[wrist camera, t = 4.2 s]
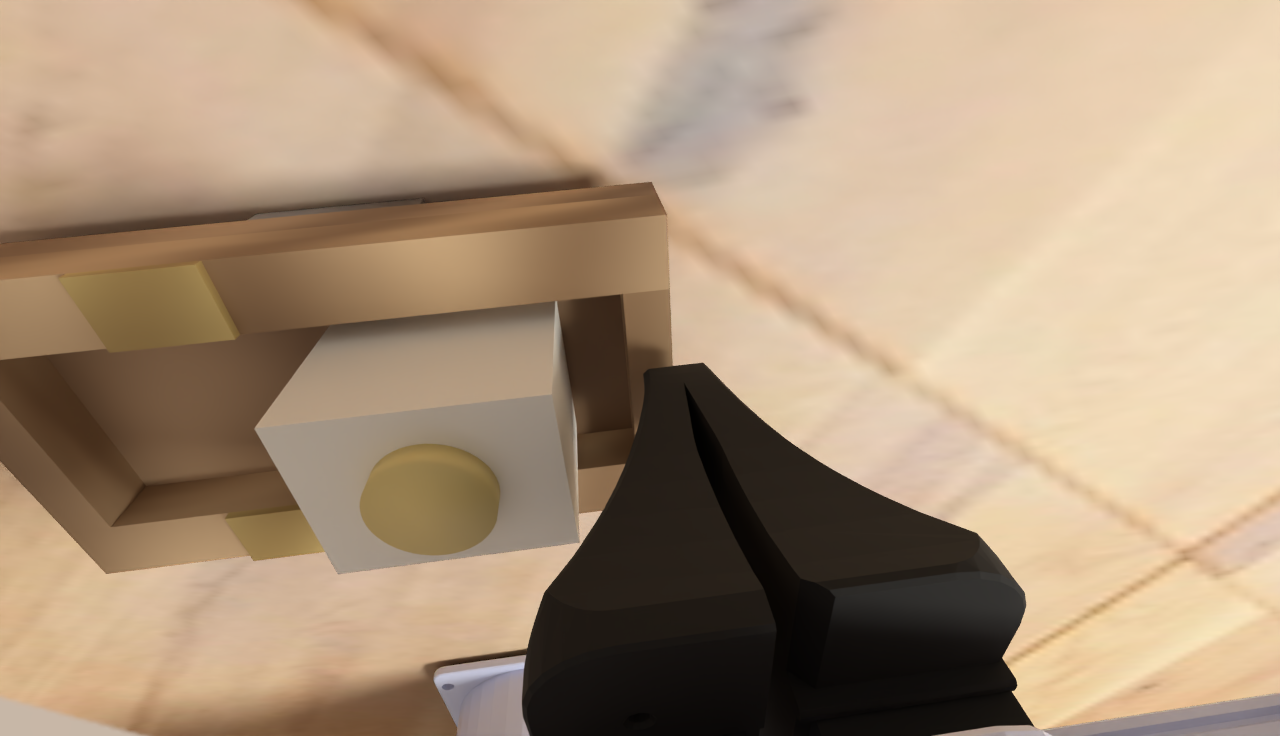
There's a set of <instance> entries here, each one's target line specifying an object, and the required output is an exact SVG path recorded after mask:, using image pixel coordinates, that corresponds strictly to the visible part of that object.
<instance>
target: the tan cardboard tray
mask: <svg viewBox="0 0 1280 736" xmlns="http://www.w3.org/2000/svg"><path fill="white" fill-rule="evenodd" d="M552 301H557V306H558V312H559V318H560V324H561V331H562V337H563V343H564V349H565V355H566V362H567V368H568V374H569V380H570V386H571V393H572V399H573V405H574V411H575V417H576V423H577V461H578V503H579V513H587V512H595V511H603V510H604V508H605V506H606V504H607V502H608V500H609V498H610V496H611V494H612V492H613V490H614V489H615V487H616V484H617V482H618V480H619V478H620V476H621V473H622V471H623V469H624V466H625V464H626V461H627V459H628V456H629V453H630V450H631V447H632V444H633V441H634V438H635V435H636V432H637V428H638V424H639V420H640V416H641V411H642V407H643V400H644V377H643V374H644V373H645V372H646V371H647V370H648V369H652V368H661V367H670V366H673V365H672V338H671V310H670V283H669V256H668V229H667V214H666V212H665V210H664V207H663V205H662V203H661V201H660V199H659V197H658V195H657V193H656V191H655V188H654V186H653V184H652V182H646V183H636V184H625V185H615V186H604V187H594V188H583V189H572V190H562V191H551V192H541V193H530V194H520V195H509V196H499V197H488V198H477V199H467V200H456V201H446V202H435V203H425V200H424V198H421V199H411V200H400V201H390V202H379V203H368V204H358V205H347V206H336V207H326V208H315V209H305V210H294V211H283V212H273V213H262V214H255V215H254V216H253V217H251V218H250V219H248V220H245V221H234V222H224V223H213V224H203V225H192V226H182V227H171V228H161V229H150V230H139V231H129V232H118V233H108V234H97V235H87V236H76V237H65V238H55V239H44V240H34V241H23V242H13V243H2V244H0V461H1V462H2V463H3V464H4V465H5V467H6V468H7V469H8V470H9V471H10V472H11V473H12V474H13V475H14V476H15V477H16V478H17V479H18V480H19V481H20V482H21V484H22V485H23V486H24V487H25V488H26V489H27V490H28V491H29V492H30V493H31V494H32V495H33V496H34V497H35V498H36V500H37V501H38V502H39V503H40V504H41V505H42V506H43V507H44V508H45V509H46V510H47V511H48V512H49V513H50V514H51V516H52V517H53V518H54V519H55V520H56V521H57V522H58V523H59V524H60V525H61V526H62V527H63V528H64V529H65V530H66V531H67V533H68V534H69V535H70V536H71V537H72V538H73V539H74V540H75V541H76V542H77V543H78V544H79V545H80V546H81V547H82V549H83V550H84V551H85V552H86V553H87V554H88V555H89V556H90V557H91V558H92V559H93V560H94V561H95V562H96V563H97V564H98V566H99V567H100V568H101V569H102V570H103V571H104V572H105V573H106V574H110V573H117V572H125V571H133V570H141V569H149V568H157V567H164V566H172V565H180V564H188V563H196V562H203V561H211V560H219V559H227V558H235V557H243V556H251V558H252V559H253V561H257V560H265V559H273V558H281V557H288V556H296V555H304V554H312V553H319V552H325V551H324V549H323V547H322V546H321V544H320V542H319V540H318V539H317V537H316V535H315V533H314V532H313V530H312V528H311V526H310V525H309V523H308V521H307V519H306V518H305V516H304V514H303V512H302V511H301V509H300V507H299V506H298V504H297V502H296V500H295V499H294V497H293V495H292V493H291V492H290V490H289V488H288V486H287V485H286V483H285V481H284V479H283V478H282V476H281V474H280V472H279V471H278V469H277V467H276V466H275V464H274V462H273V460H272V459H271V457H270V455H269V453H268V452H267V450H266V448H265V446H264V445H263V443H262V441H261V439H260V438H259V436H258V434H257V433H256V431H255V429H254V428H255V427H256V425H257V424H258V423H259V421H260V420H261V419H262V417H263V416H264V415H265V413H266V412H267V410H268V409H269V408H270V406H271V405H272V404H273V402H274V401H275V400H276V398H277V397H278V395H279V394H280V393H281V391H282V390H283V389H284V387H285V386H286V385H287V383H288V382H289V380H290V379H291V378H292V376H293V375H294V374H295V372H296V371H297V370H298V368H299V367H300V365H301V364H302V363H303V361H304V360H305V359H306V357H307V356H308V355H309V353H310V352H311V350H312V349H313V348H314V346H315V345H316V344H317V342H318V341H319V340H320V338H321V337H322V335H323V334H324V333H325V331H326V330H327V329H328V327H329V326H330V325H335V324H344V323H354V322H363V321H373V320H382V319H392V318H401V317H411V316H420V315H429V314H439V313H448V312H458V311H467V310H477V309H486V308H496V307H505V306H514V305H524V304H533V303H543V302H552Z"/></svg>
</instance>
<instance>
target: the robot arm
mask: <svg viewBox="0 0 1280 736" xmlns="http://www.w3.org/2000/svg"><path fill="white" fill-rule="evenodd" d="M643 377H644V400H643V407H642V411H641V416H640V420H639V424H638V428H637V432H636V435H635V438H634V441H633V444H632V447H631V450H630V453H629V456H628V459H627V461H626V464H625V466H624V469H623V471H622V473H621V476H620V478H619V480H618V482H617V484H616V487H615V489H614V490H613V492H612V494H611V496H610V498H609V500H608V502H607V504H606V506H605V508H604V510H603V511H602V513H601V515H600V516H599V518H598V520H597V522H596V523H595V525H594V526H593V528H592V529H591V531H590V532H589V534H588V535H587V537H586V538H585V540H584V541H583V543H582V544H581V546H580V547H579V549H578V550H577V552H576V553H575V555H574V556H573V557H572V559H571V560H570V561H569V562H568V564H567V565H566V566H565V567H564V569H563V570H562V571H561V572H560V574H559V575H558V576H557V577H556V579H555V580H554V581H553V582H552V584H551V585H550V586H549V587H548V589H547V590H546V591H545V593H544V595H543V598H542V601H541V604H540V607H539V610H538V613H537V616H536V619H535V622H534V625H533V629H532V632H531V636H530V640H529V644H528V648H527V654H526V655H520V656H513V657H506V658H499V659H492V660H485V661H478V662H471V663H464V664H457V665H450V666H443V667H440V668H438V669H437V670H436V671H435V673H434V679H433V680H434V683H435V685H436V687H437V689H438V691H439V693H440V695H441V697H442V699H443V701H444V703H445V705H446V707H447V709H448V710H449V712H450V714H451V716H452V718H453V720H454V722H455V724H456V726H457V735H456V736H1280V693H1274V694H1268V695H1262V696H1255V697H1249V698H1242V699H1236V700H1230V701H1223V702H1217V703H1210V704H1204V705H1198V706H1191V707H1185V708H1178V709H1172V710H1165V711H1159V712H1153V713H1146V714H1140V715H1133V716H1127V717H1121V718H1114V719H1108V720H1101V721H1095V722H1089V723H1082V724H1076V725H1069V726H1063V727H1057V728H1050V729H1044V730H1040V729H1038V728H1035V727H1034V725H1033V724H1032V722H1031V721H1030V719H1029V718H1028V716H1027V715H1026V713H1025V711H1024V710H1023V708H1022V707H1021V705H1020V704H1019V702H1018V701H1017V699H1016V698H1015V696H1014V694H1013V693H1012V691H1014V690H1015V689H1016V687H1017V682H1016V678H1015V677H1014V675H1013V674H1012V672H1011V671H1010V669H1009V668H1008V666H1007V665H1006V663H1005V662H1004V660H1003V659H1002V657H1003V655H1004V653H1005V651H1006V649H1007V648H1008V646H1009V644H1010V642H1011V640H1012V638H1013V637H1014V635H1015V633H1016V631H1017V629H1018V627H1019V626H1020V623H1021V620H1022V617H1023V615H1024V612H1025V608H1026V600H1025V592H1024V591H1023V590H1022V588H1021V587H1020V586H1019V585H1018V583H1017V582H1016V581H1015V579H1014V578H1013V577H1012V576H1011V574H1010V573H1009V571H1008V570H1007V569H1006V567H1005V566H1004V565H1003V563H1002V562H1001V561H1000V559H999V558H998V557H997V555H996V554H995V553H994V552H993V551H992V550H991V549H990V547H989V546H988V545H987V544H986V543H985V542H984V541H983V540H982V538H981V537H980V536H979V535H978V534H977V533H975V532H972V531H969V530H967V529H964V528H961V527H958V526H956V525H953V524H950V523H948V522H945V521H942V520H940V519H937V518H934V517H931V516H929V515H926V514H923V513H921V512H918V511H916V510H913V509H911V508H909V507H907V506H904V505H902V504H900V503H898V502H895V501H893V500H891V499H889V498H886V497H884V496H882V495H880V494H878V493H876V492H874V491H872V490H870V489H868V488H866V487H864V486H862V485H860V484H858V483H856V482H854V481H852V480H851V479H849V478H847V477H845V476H843V475H841V474H840V473H838V472H836V471H834V470H832V469H831V468H829V467H827V466H826V465H824V464H822V463H821V462H819V461H818V460H816V459H815V458H813V457H811V456H810V455H808V454H807V453H805V452H804V451H802V450H801V449H799V448H798V447H796V446H795V445H793V444H792V443H791V442H789V441H788V440H787V439H785V438H784V437H783V436H781V435H780V434H779V433H778V432H776V431H775V430H774V429H773V428H771V427H770V426H769V425H768V424H767V423H765V422H764V421H763V420H762V419H761V418H759V417H758V416H757V415H756V414H755V413H754V412H753V411H752V410H751V409H750V408H748V407H747V406H746V405H745V404H744V403H743V402H742V401H741V400H740V399H739V398H738V397H737V396H736V395H735V394H734V393H733V392H732V391H730V390H729V389H728V388H727V387H726V386H725V384H724V383H723V382H722V381H721V380H720V379H719V378H718V377H717V376H716V375H715V374H714V373H713V372H712V371H711V370H710V369H709V368H708V367H707V366H706V365H705V364H704V363H697V364H688V365H679V366H670V367H661V368H652V369H648V370H647V371H646V372H645V373H644V374H643Z"/></svg>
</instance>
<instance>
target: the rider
mask: <svg viewBox="0 0 1280 736" xmlns="http://www.w3.org/2000/svg"><path fill="white" fill-rule="evenodd" d="M254 429H255V431H256V433H257V434H258V436H259V438H260V439H261V441H262V443H263V445H264V446H265V448H266V450H267V452H268V453H269V455H270V457H271V459H272V460H273V462H274V464H275V466H276V467H277V469H278V471H279V472H280V474H281V476H282V478H283V479H284V481H285V483H286V485H287V486H288V488H289V490H290V492H291V493H292V495H293V497H294V499H295V500H296V502H297V504H298V506H299V507H300V509H301V511H302V512H303V514H304V516H305V518H306V519H307V521H308V523H309V525H310V526H311V528H312V530H313V532H314V533H315V535H316V537H317V539H318V540H319V542H320V544H321V546H322V547H323V549H324V551H325V552H326V554H327V556H328V558H329V559H330V561H331V563H332V565H333V566H334V568H335V570H336V572H337V573H338V574H343V573H351V572H358V571H366V570H374V569H381V568H389V567H397V566H404V565H412V564H420V563H427V562H435V561H443V560H450V559H458V558H466V557H473V556H481V555H488V554H496V553H504V552H511V551H519V550H527V549H534V548H542V547H550V546H557V545H565V544H573V543H579V503H578V461H577V423H576V417H575V411H574V405H573V399H572V393H571V386H570V380H569V374H568V368H567V362H566V355H565V349H564V343H563V337H562V331H561V324H560V318H559V312H558V306H557V301H552V302H543V303H533V304H524V305H514V306H505V307H496V308H486V309H477V310H467V311H458V312H448V313H439V314H429V315H420V316H411V317H401V318H392V319H382V320H373V321H363V322H354V323H344V324H335V325H330V326H329V327H328V329H327V330H326V331H325V333H324V334H323V335H322V337H321V338H320V340H319V341H318V342H317V344H316V345H315V346H314V348H313V349H312V350H311V352H310V353H309V355H308V356H307V357H306V359H305V360H304V361H303V363H302V364H301V365H300V367H299V368H298V370H297V371H296V372H295V374H294V375H293V376H292V378H291V379H290V380H289V382H288V383H287V385H286V386H285V387H284V389H283V390H282V391H281V393H280V394H279V395H278V397H277V398H276V400H275V401H274V402H273V404H272V405H271V406H270V408H269V409H268V410H267V412H266V413H265V415H264V416H263V417H262V419H261V420H260V421H259V423H258V424H257V425H256V427H255V428H254Z"/></svg>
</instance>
